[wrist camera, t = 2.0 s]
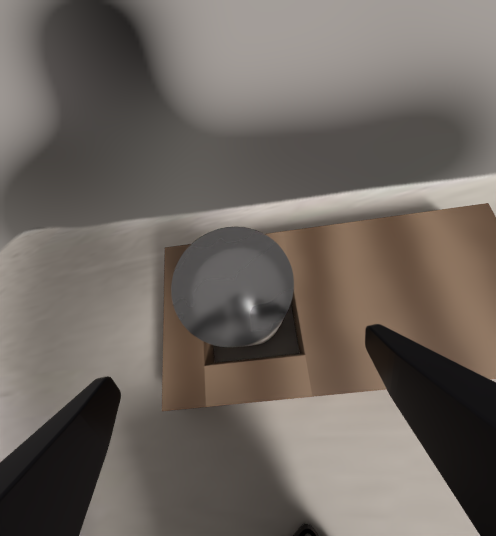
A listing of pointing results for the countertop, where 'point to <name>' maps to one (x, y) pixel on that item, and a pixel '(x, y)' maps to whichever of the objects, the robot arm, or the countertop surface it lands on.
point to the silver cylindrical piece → (232, 287)
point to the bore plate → (354, 308)
